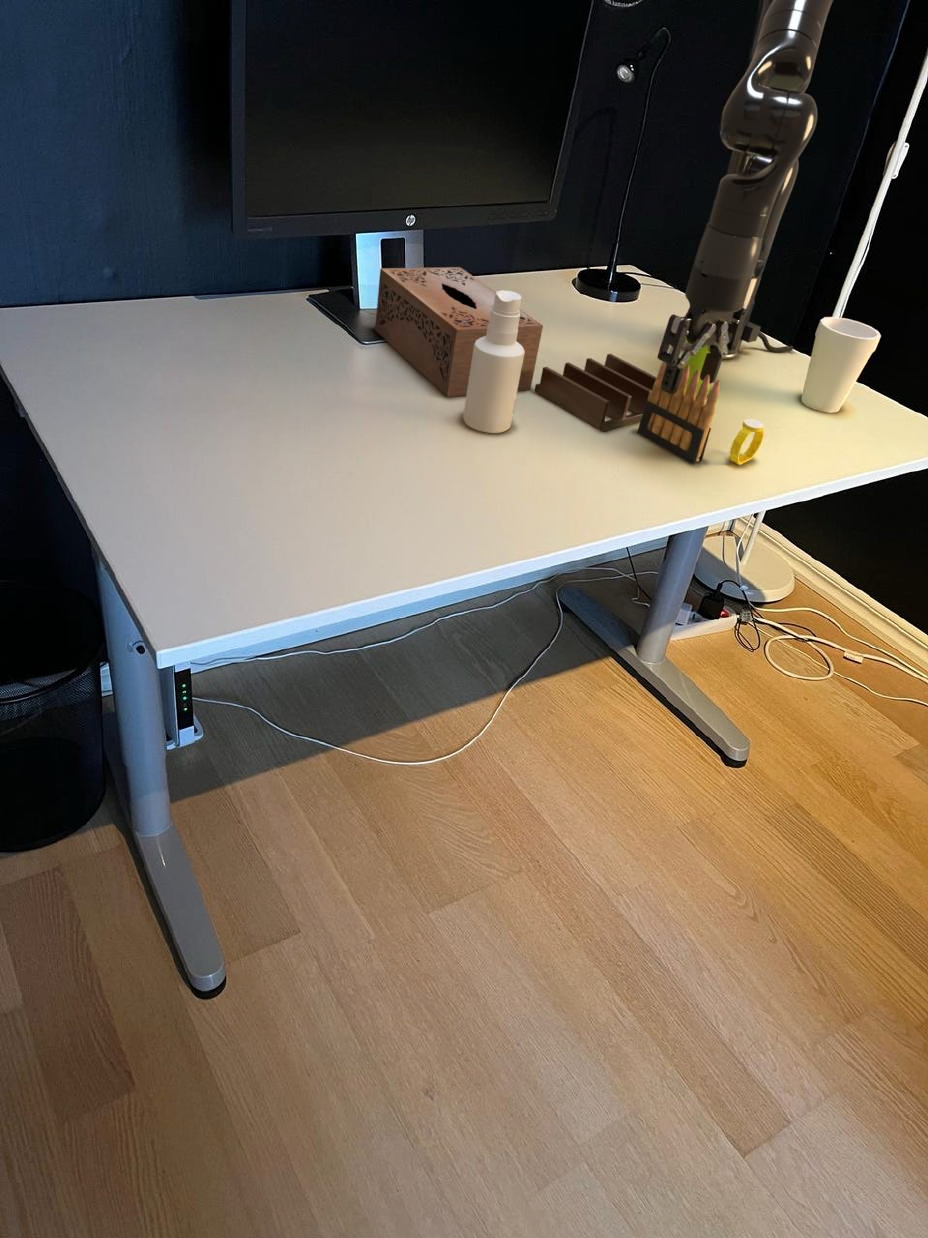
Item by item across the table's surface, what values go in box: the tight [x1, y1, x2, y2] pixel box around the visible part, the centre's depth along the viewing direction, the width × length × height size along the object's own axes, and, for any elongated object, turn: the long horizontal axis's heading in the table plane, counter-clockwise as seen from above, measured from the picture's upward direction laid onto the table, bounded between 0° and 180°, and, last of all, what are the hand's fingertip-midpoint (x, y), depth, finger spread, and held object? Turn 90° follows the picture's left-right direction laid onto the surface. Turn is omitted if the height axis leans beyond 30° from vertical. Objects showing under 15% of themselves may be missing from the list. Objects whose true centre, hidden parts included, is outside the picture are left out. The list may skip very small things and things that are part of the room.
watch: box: [729, 418, 765, 466], centre depth 131 cm, size 6×3×6 cm, turn 133°
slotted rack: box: [533, 353, 657, 432], centre depth 141 cm, size 15×15×4 cm
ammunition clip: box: [636, 361, 721, 465], centre depth 129 cm, size 11×2×12 cm, turn 40°
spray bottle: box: [462, 289, 525, 434], centre depth 125 cm, size 7×7×18 cm
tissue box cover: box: [374, 266, 544, 398], centre depth 144 cm, size 26×14×10 cm, turn 28°
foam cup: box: [800, 316, 882, 414], centre depth 151 cm, size 10×9×13 cm
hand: (687, 386), depth 127 cm, fingers open, 8 cm apart
